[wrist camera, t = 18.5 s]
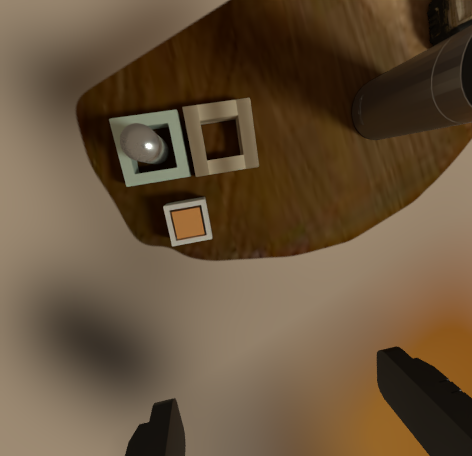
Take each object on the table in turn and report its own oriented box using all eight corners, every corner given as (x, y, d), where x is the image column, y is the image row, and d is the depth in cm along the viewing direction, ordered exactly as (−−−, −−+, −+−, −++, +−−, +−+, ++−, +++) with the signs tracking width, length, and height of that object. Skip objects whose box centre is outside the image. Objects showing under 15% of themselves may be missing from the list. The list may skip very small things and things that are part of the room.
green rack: (178, 114, 36) (176, 109, 33) (191, 176, 38) (190, 176, 35) (116, 123, 35) (108, 118, 32) (132, 185, 37) (126, 186, 34)
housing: (204, 196, 39) (204, 199, 35) (211, 232, 41) (212, 238, 37) (167, 203, 39) (163, 206, 35) (175, 239, 40) (172, 246, 36)
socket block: (246, 103, 37) (249, 97, 34) (254, 167, 39) (259, 166, 36) (184, 112, 36) (182, 107, 33) (196, 176, 38) (195, 176, 35)
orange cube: (199, 204, 39) (199, 207, 35) (204, 228, 40) (204, 234, 36) (174, 208, 38) (171, 212, 35) (179, 233, 39) (177, 239, 36)
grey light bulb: (165, 134, 36) (152, 120, 27) (171, 162, 37) (161, 157, 28) (138, 138, 36) (115, 125, 26) (145, 166, 37) (125, 163, 27)
